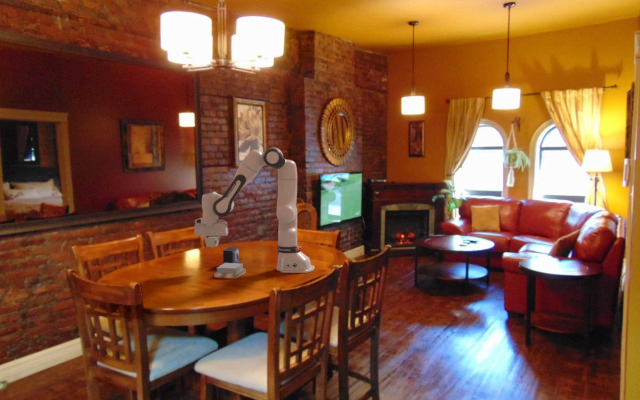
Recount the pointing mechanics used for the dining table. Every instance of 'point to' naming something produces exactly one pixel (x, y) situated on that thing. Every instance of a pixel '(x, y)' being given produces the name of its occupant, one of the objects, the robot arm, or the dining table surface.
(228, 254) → the small box
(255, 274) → the dining table surface
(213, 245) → the beige block
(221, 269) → the top slab
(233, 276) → the bottom slab
